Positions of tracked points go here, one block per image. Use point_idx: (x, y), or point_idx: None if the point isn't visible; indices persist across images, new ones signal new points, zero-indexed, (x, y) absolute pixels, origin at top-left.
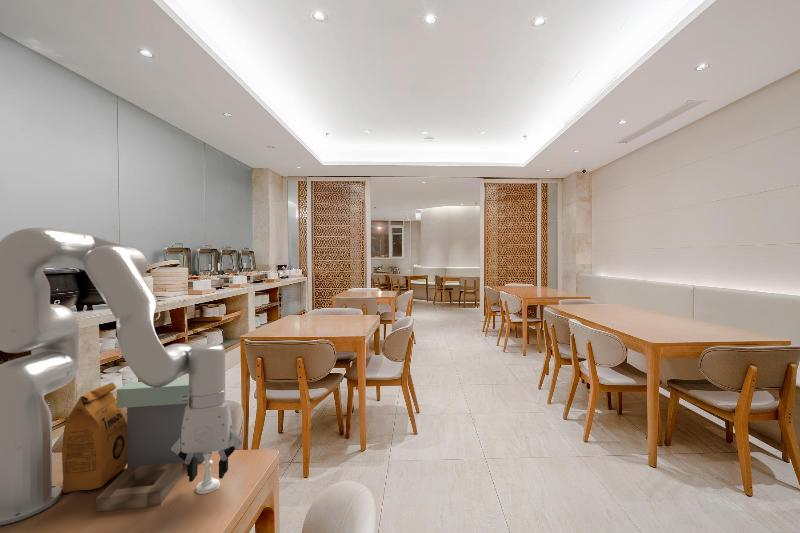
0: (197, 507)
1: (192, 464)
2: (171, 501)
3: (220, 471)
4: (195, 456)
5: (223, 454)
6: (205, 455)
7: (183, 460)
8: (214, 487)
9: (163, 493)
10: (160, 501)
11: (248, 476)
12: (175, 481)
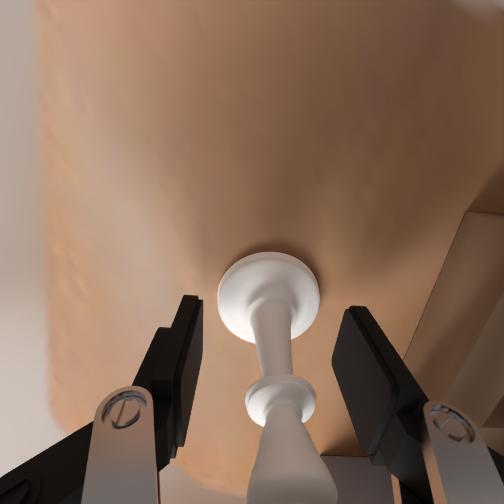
0: (281, 134)
1: (394, 396)
2: (415, 228)
3: (182, 322)
4: (356, 482)
5: (111, 452)
6: (305, 468)
7: None
8: (231, 274)
9: (476, 260)
10: (473, 222)
11: (104, 334)
12: (414, 358)
